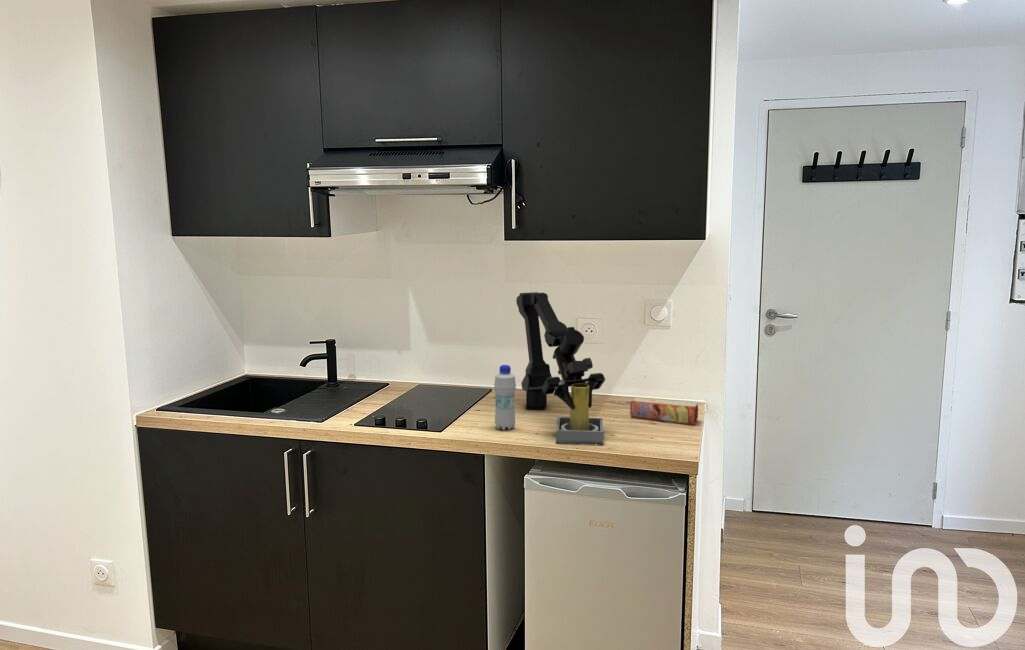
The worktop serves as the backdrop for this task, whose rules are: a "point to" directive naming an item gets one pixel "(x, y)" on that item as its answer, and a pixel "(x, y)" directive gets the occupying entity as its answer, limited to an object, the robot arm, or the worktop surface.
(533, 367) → the robot arm
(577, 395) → the vase
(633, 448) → the worktop surface
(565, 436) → the tray
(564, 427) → the collar
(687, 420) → the snack package
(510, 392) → the bottle
